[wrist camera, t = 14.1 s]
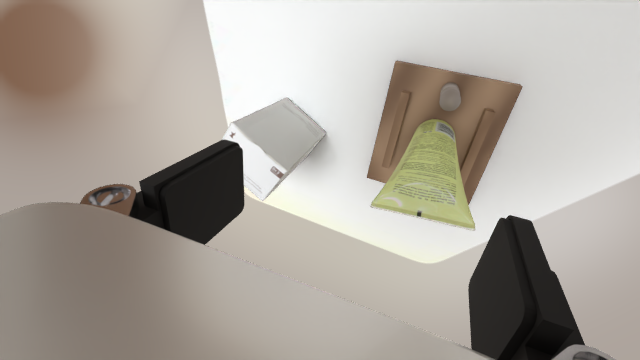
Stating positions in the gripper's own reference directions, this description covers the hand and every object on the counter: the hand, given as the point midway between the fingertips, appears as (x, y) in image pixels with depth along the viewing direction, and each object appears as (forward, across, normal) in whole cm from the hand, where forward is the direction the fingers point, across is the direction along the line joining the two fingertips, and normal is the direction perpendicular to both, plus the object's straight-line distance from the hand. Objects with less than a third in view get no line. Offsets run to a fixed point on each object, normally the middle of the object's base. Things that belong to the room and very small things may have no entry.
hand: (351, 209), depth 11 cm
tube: (+31, -3, +7) cm, 32 cm away
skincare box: (+32, +16, +10) cm, 37 cm away
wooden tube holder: (+32, -3, +7) cm, 33 cm away
